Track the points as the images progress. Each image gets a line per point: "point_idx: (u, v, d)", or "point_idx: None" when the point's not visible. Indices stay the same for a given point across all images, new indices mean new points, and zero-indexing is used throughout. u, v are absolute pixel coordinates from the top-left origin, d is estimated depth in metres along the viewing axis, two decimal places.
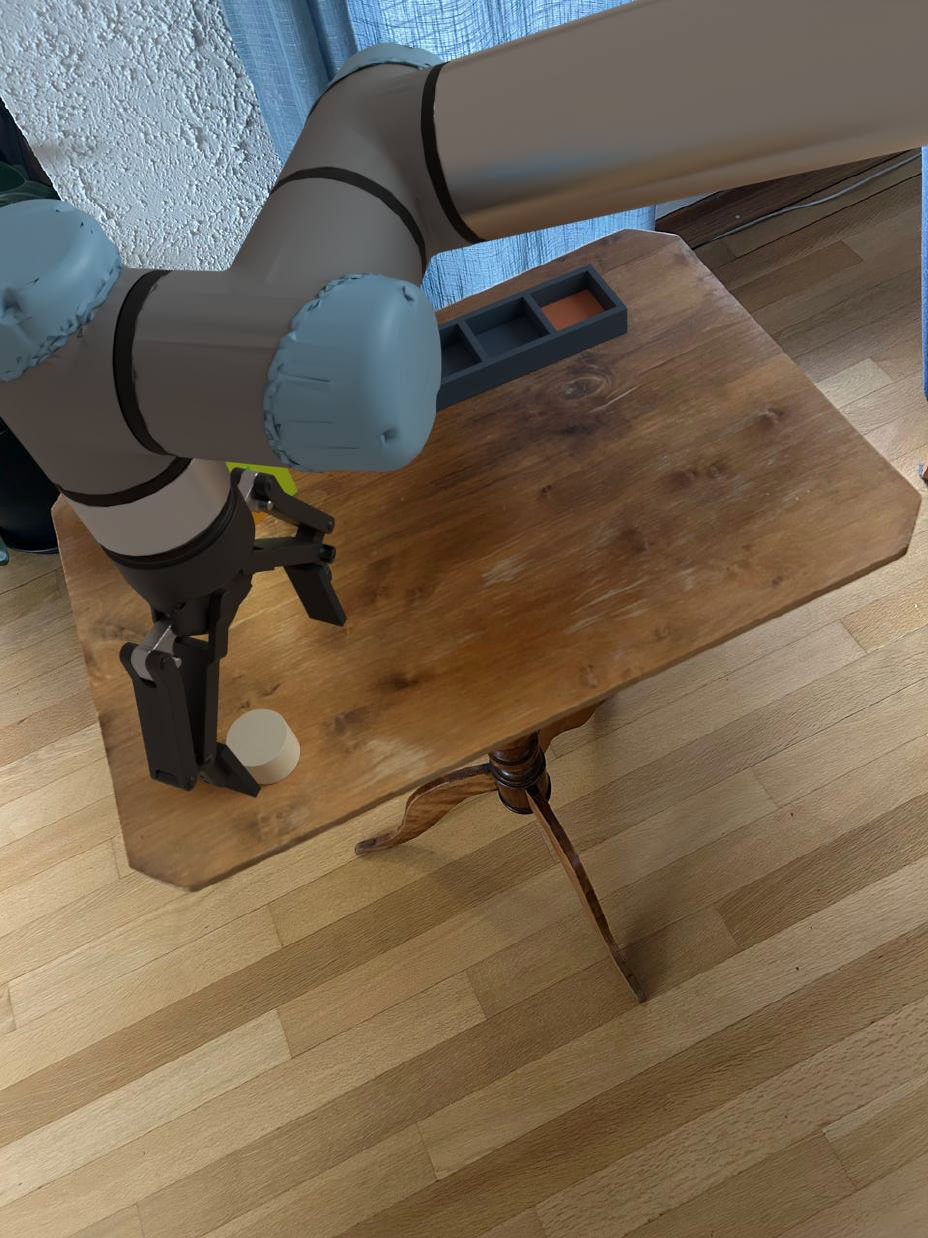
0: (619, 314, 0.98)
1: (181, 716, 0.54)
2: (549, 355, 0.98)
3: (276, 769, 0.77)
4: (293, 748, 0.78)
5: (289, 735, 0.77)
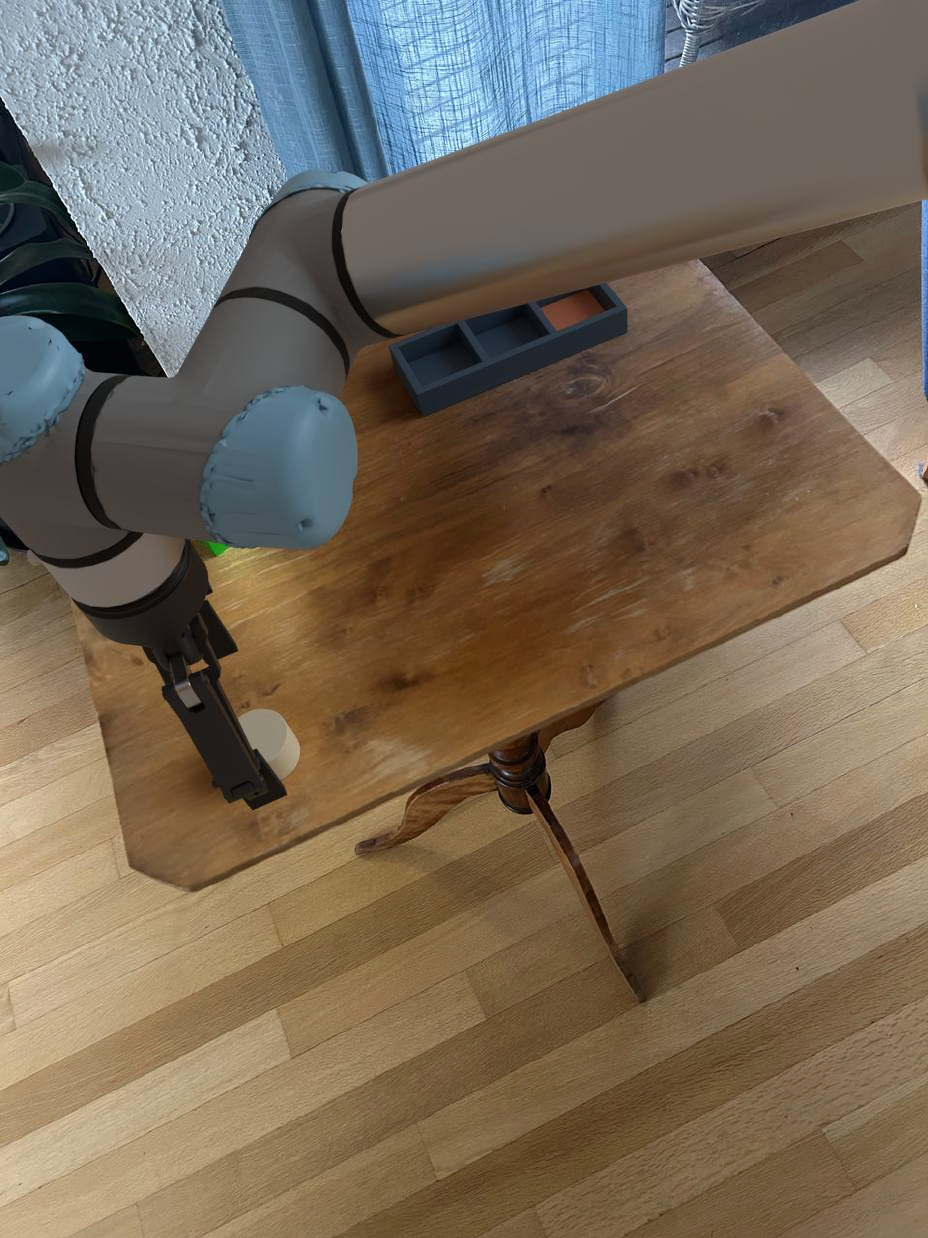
0: (619, 314, 0.98)
1: (230, 724, 0.61)
2: (549, 355, 0.98)
3: (276, 769, 0.77)
4: (293, 748, 0.78)
5: (289, 735, 0.77)
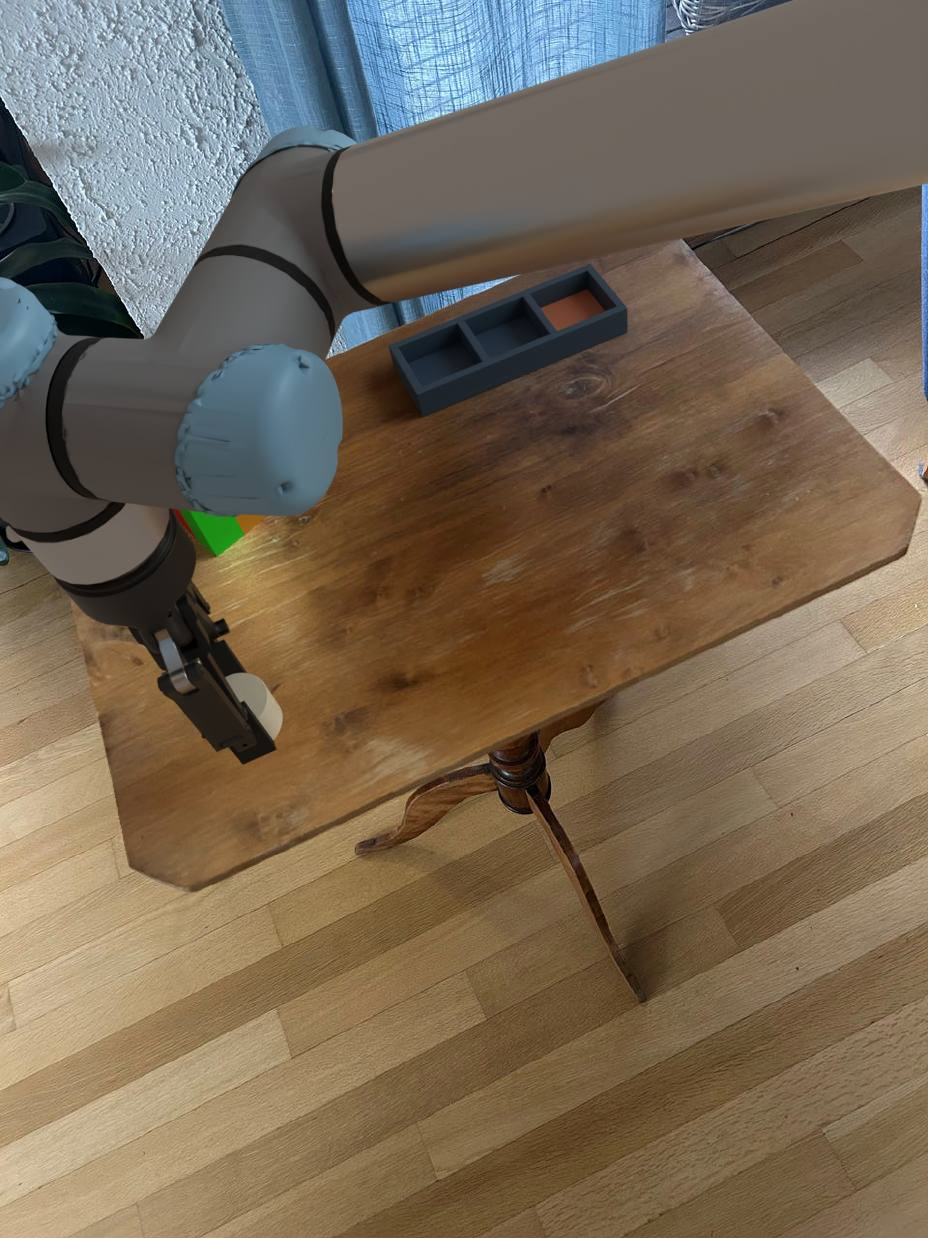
0: (619, 314, 0.98)
1: (221, 694, 0.62)
2: (549, 355, 0.98)
3: None
4: (274, 715, 0.73)
5: (270, 700, 0.72)
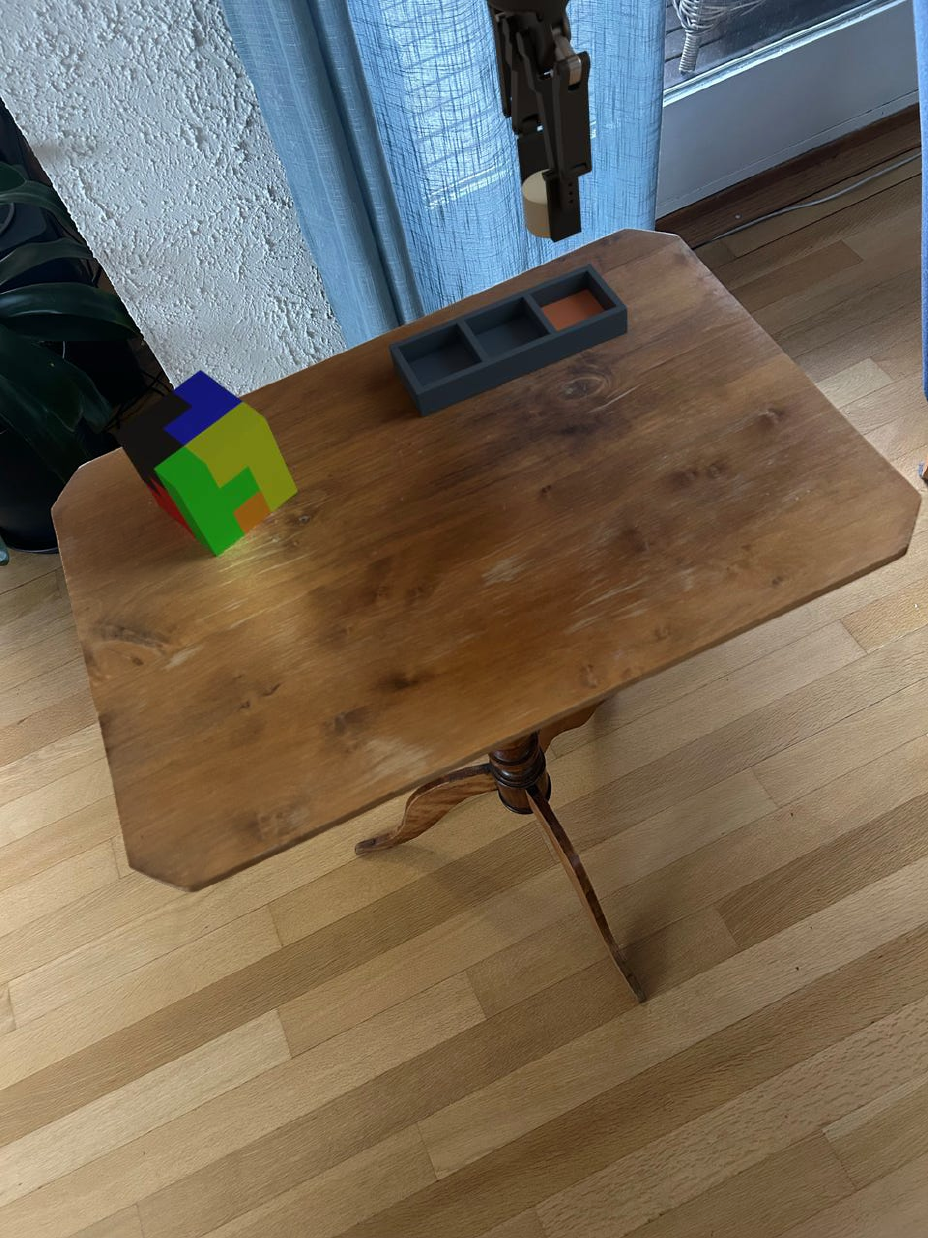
0: (619, 314, 0.98)
1: None
2: (549, 355, 0.98)
3: None
4: None
5: None
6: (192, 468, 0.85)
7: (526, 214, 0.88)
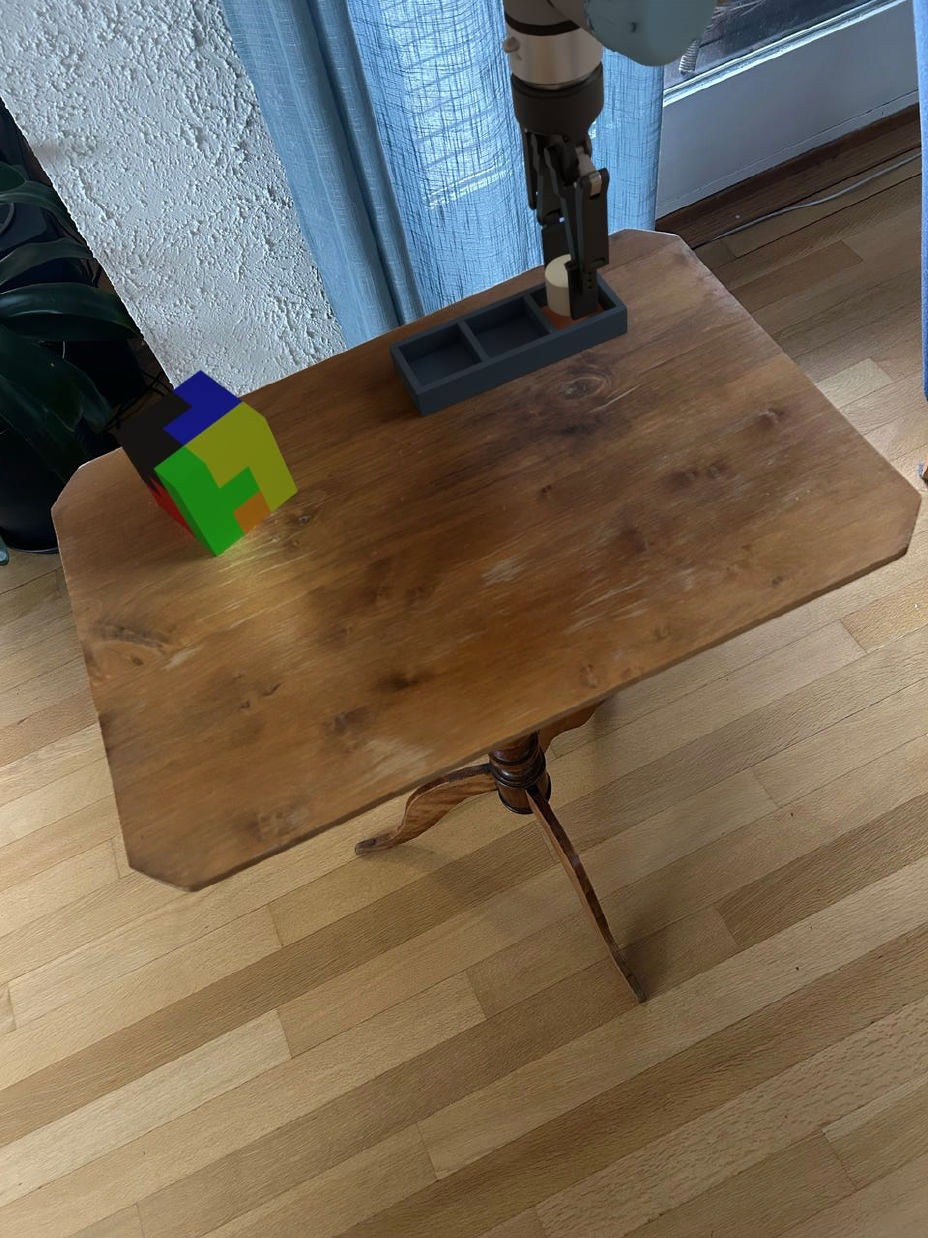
0: (619, 314, 0.98)
1: None
2: (549, 355, 0.98)
3: None
4: None
5: None
6: (192, 468, 0.85)
7: (549, 295, 0.98)
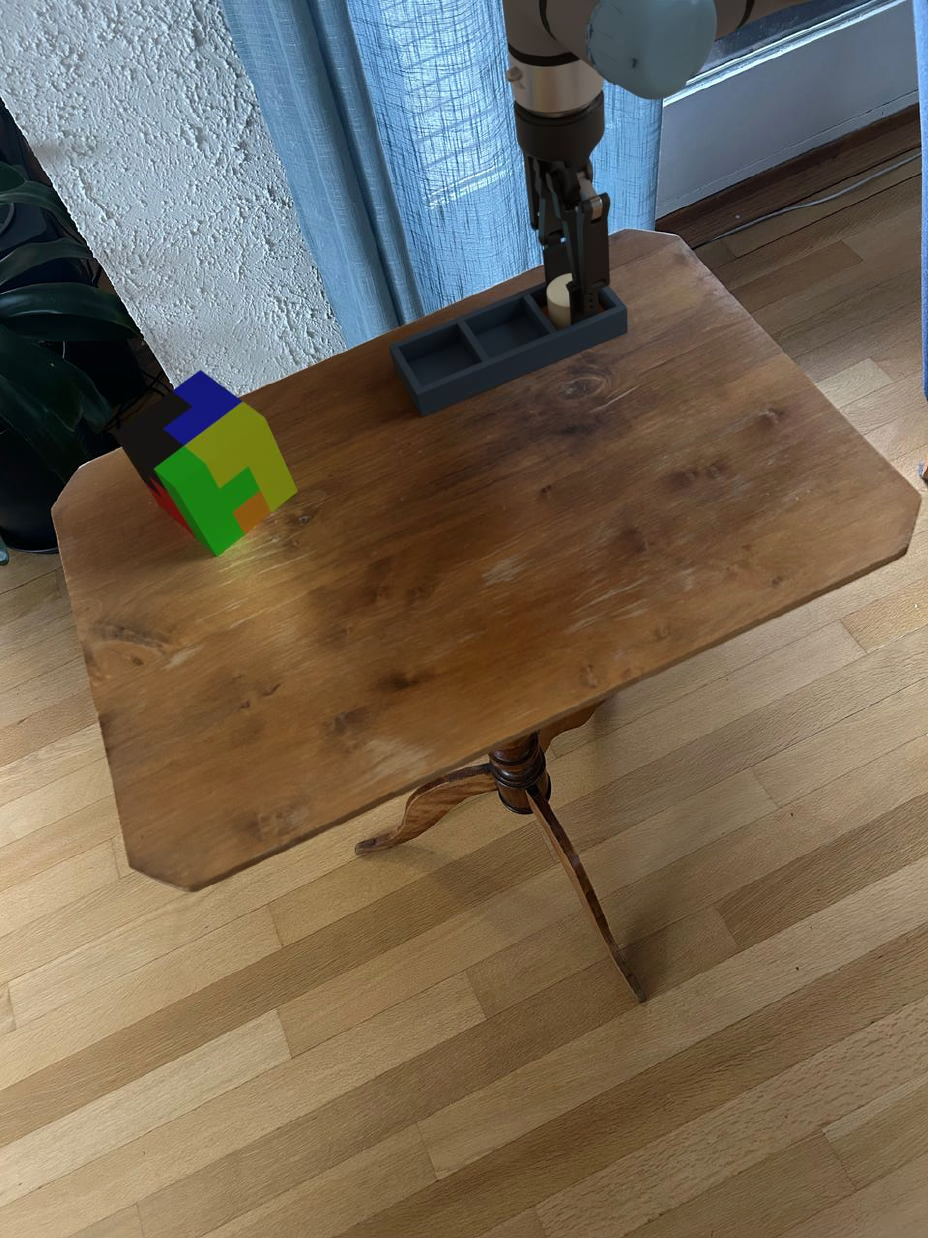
0: (619, 314, 0.98)
1: None
2: (549, 355, 0.98)
3: None
4: None
5: None
6: (192, 468, 0.85)
7: (550, 313, 1.00)
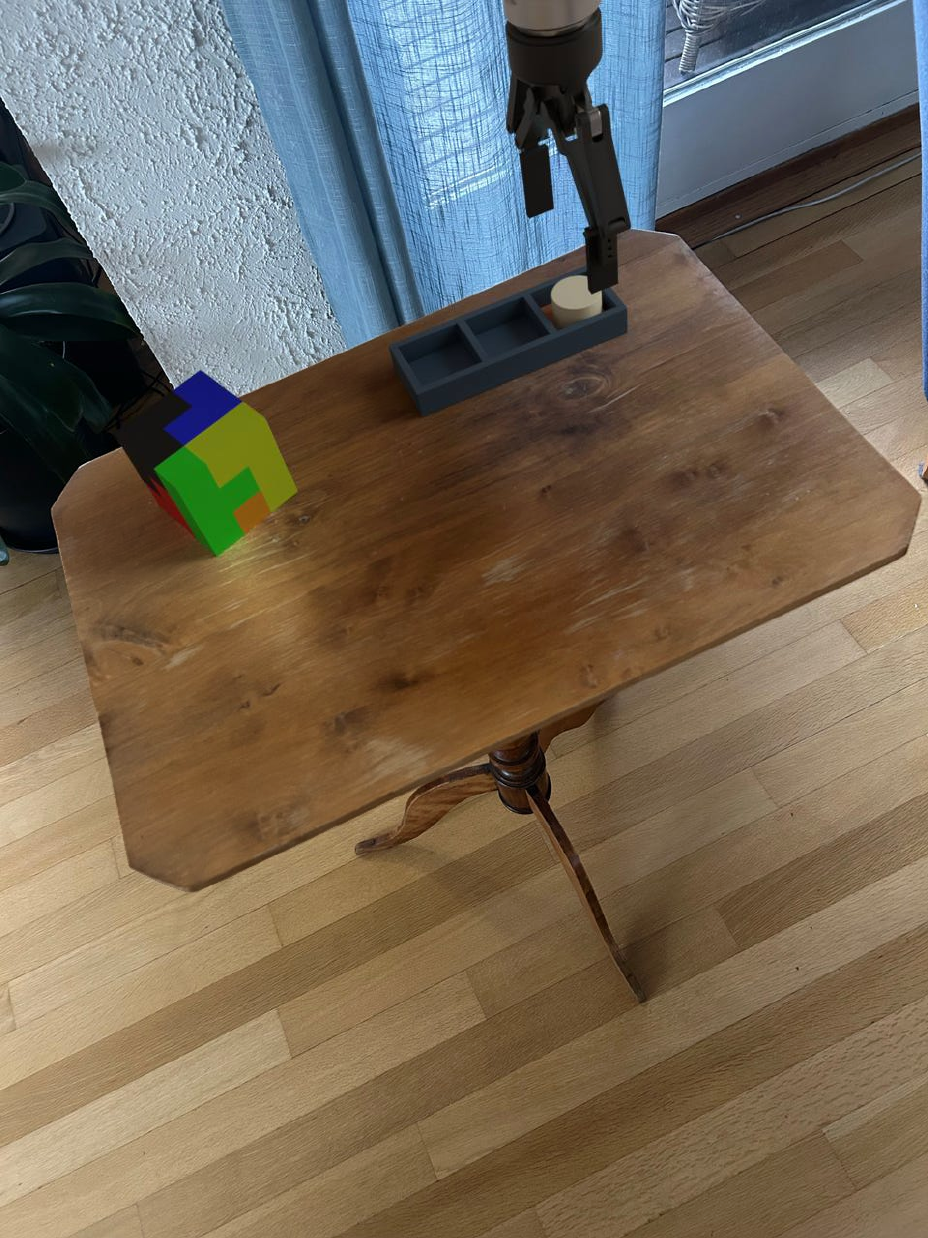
0: (619, 314, 0.98)
1: None
2: (549, 355, 0.98)
3: None
4: (601, 305, 0.99)
5: None
6: (192, 468, 0.85)
7: (555, 315, 0.99)
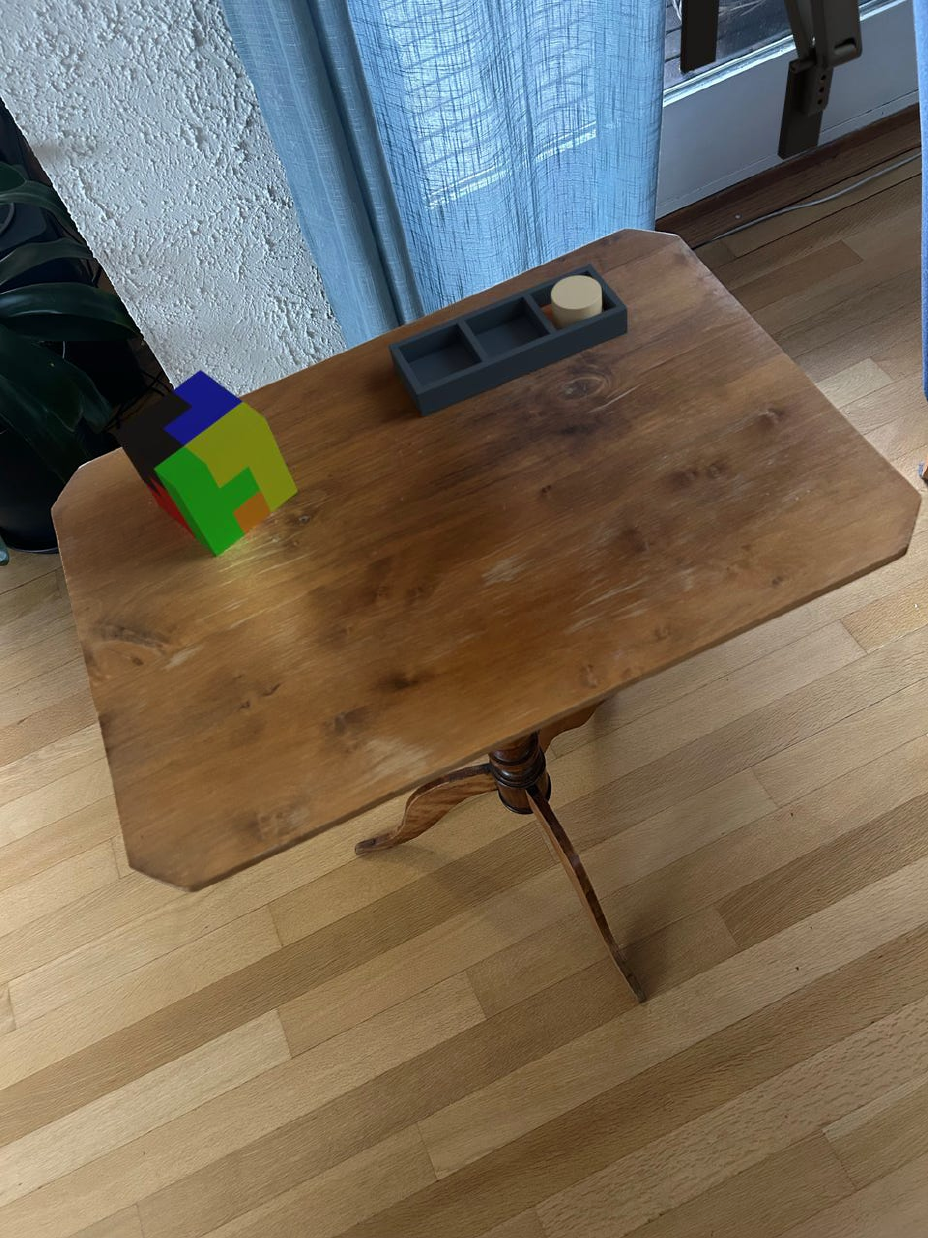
0: (619, 314, 0.98)
1: None
2: (549, 355, 0.98)
3: None
4: (601, 305, 0.99)
5: None
6: (192, 468, 0.85)
7: (555, 315, 0.99)
